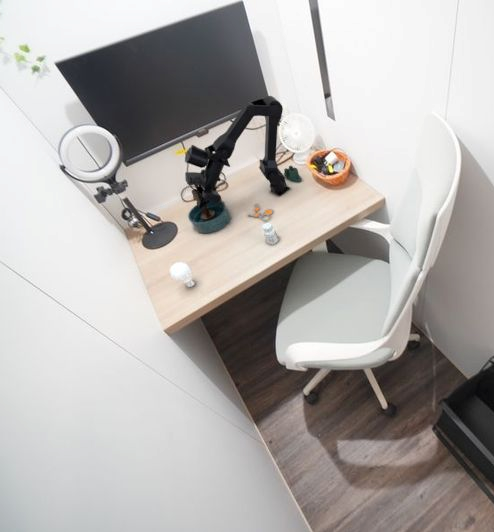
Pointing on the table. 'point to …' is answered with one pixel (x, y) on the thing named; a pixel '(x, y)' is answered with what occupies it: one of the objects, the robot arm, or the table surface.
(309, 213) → the table surface
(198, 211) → the bowl
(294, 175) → the dark green lumpy piece
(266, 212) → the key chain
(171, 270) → the lightbulb
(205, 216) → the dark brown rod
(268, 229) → the pill bottle
